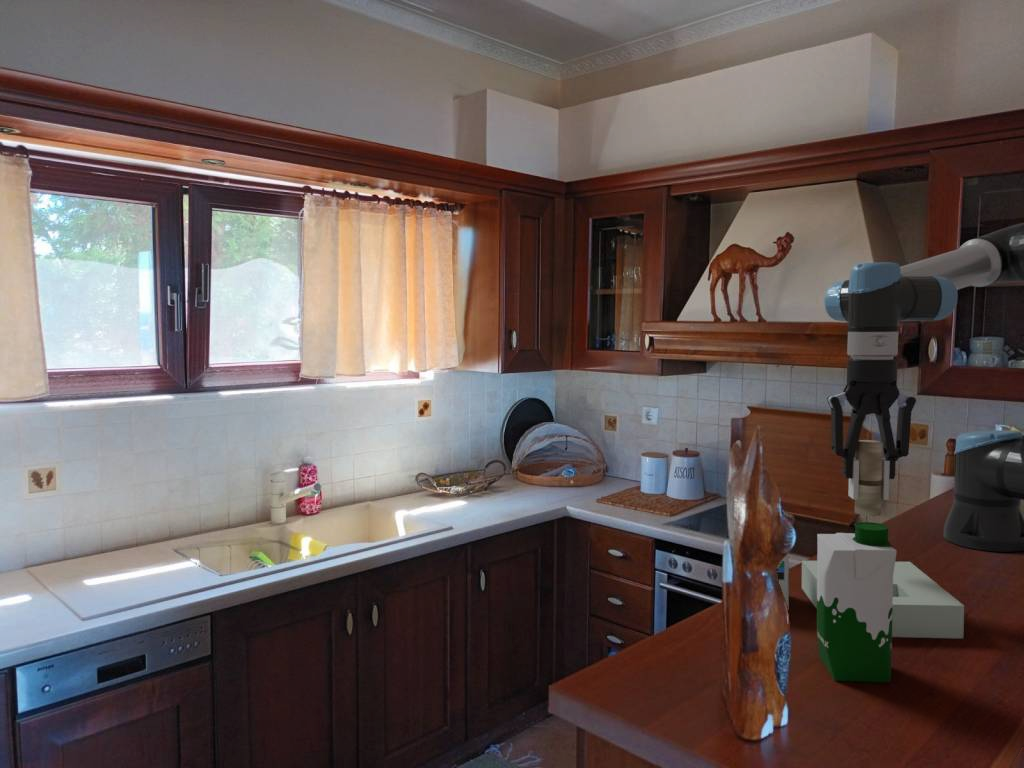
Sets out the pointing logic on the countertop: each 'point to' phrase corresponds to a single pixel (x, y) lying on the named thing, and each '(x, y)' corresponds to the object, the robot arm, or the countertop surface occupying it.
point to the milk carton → (856, 603)
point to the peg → (869, 477)
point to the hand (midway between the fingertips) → (868, 497)
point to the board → (910, 603)
